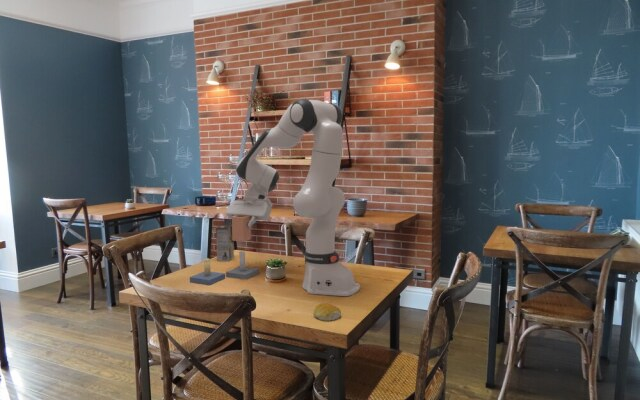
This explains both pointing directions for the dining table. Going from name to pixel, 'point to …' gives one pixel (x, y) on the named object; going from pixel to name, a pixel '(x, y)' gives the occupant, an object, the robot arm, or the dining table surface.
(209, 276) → the peg base
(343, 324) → the dining table surface
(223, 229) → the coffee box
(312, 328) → the dining table surface
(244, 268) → the stand
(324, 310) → the bread roll
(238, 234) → the sleeve
